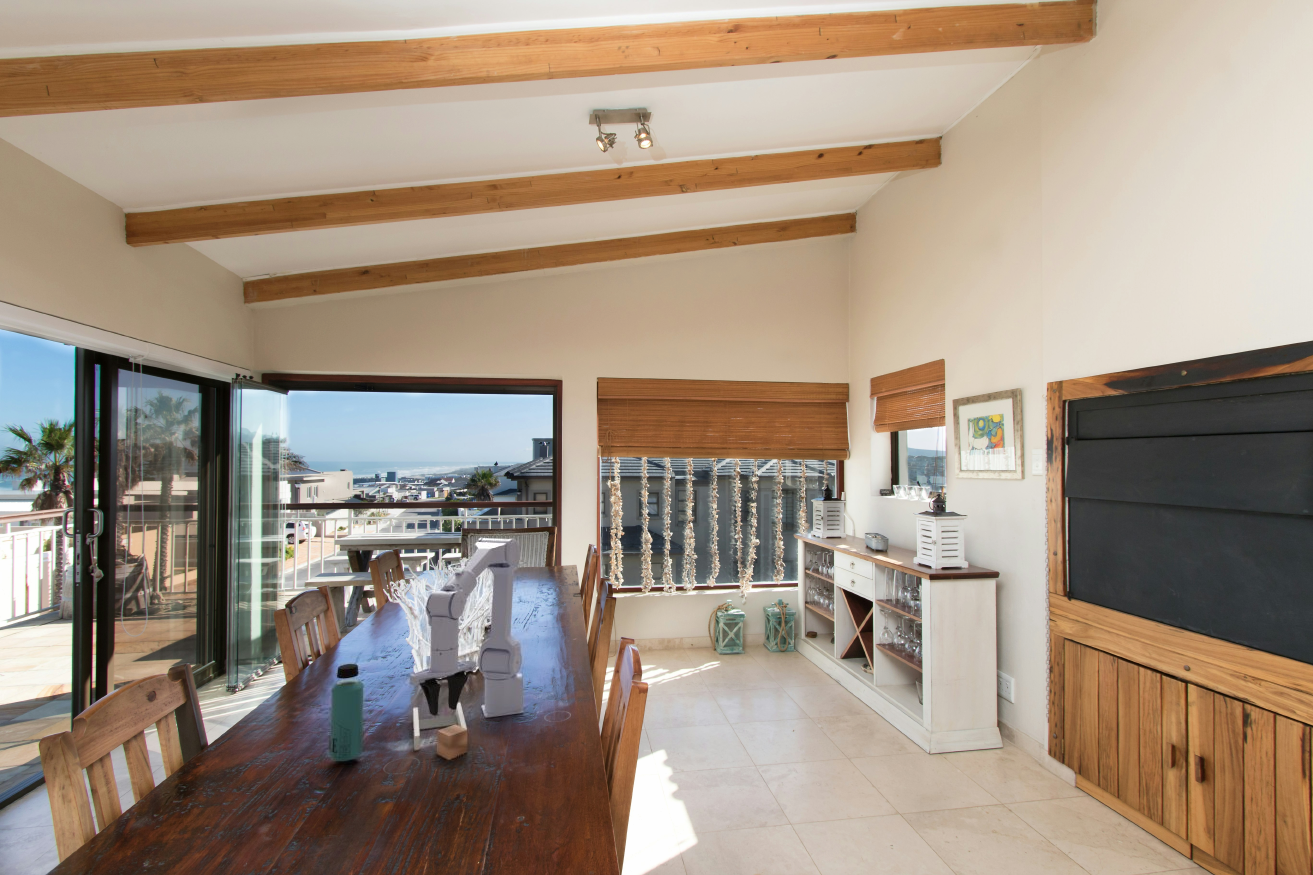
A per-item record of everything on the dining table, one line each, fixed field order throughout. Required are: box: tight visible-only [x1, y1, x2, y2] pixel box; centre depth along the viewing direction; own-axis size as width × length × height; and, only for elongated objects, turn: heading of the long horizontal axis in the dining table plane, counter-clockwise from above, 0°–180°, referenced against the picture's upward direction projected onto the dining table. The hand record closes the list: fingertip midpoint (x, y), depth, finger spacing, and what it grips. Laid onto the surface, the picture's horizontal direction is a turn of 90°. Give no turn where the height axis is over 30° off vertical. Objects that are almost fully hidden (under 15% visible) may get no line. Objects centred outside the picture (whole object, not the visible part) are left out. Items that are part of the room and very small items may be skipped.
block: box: [436, 724, 468, 761], centre depth 141 cm, size 4×4×5 cm
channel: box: [412, 701, 468, 751], centre depth 153 cm, size 11×18×3 cm, turn 21°
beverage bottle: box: [328, 663, 365, 762], centre depth 137 cm, size 6×7×20 cm
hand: (443, 711), depth 140 cm, fingers open, 4 cm apart
